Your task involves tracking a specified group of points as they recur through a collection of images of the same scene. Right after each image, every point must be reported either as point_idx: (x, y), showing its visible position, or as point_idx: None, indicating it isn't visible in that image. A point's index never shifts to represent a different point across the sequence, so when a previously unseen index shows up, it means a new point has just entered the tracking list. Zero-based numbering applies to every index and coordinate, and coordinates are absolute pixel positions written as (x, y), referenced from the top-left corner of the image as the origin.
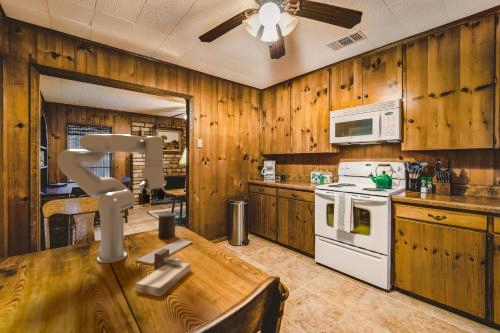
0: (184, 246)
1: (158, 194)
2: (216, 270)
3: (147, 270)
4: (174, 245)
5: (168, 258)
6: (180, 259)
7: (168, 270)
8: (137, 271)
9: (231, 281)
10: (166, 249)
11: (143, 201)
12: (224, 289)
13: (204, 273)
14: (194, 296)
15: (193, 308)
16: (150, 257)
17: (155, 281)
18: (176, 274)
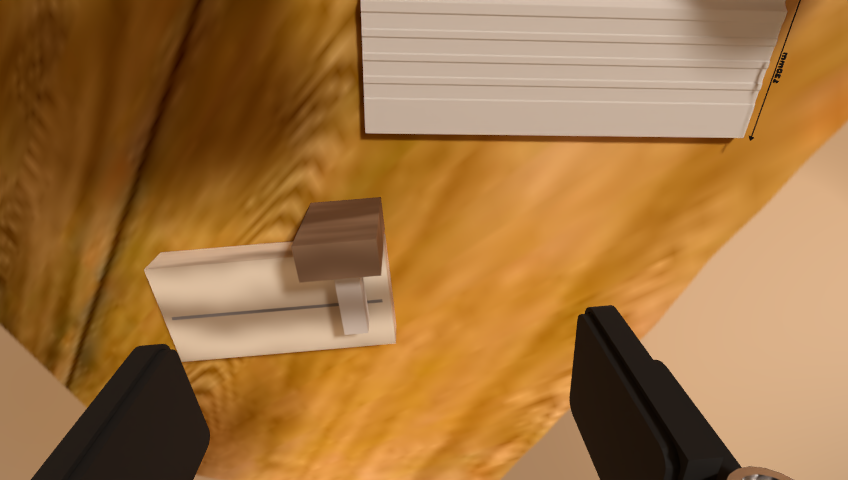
0: (652, 135)
1: (624, 405)
2: (438, 397)
3: (310, 156)
4: (651, 65)
5: (342, 285)
6: (367, 330)
7: (298, 306)
8: (276, 117)
9: (387, 459)
10: (373, 262)
11: (130, 370)
12: (336, 462)
13: (399, 375)
14: (259, 418)
15: (212, 442)
16: (425, 61)
17: (202, 321)
18: (288, 351)
